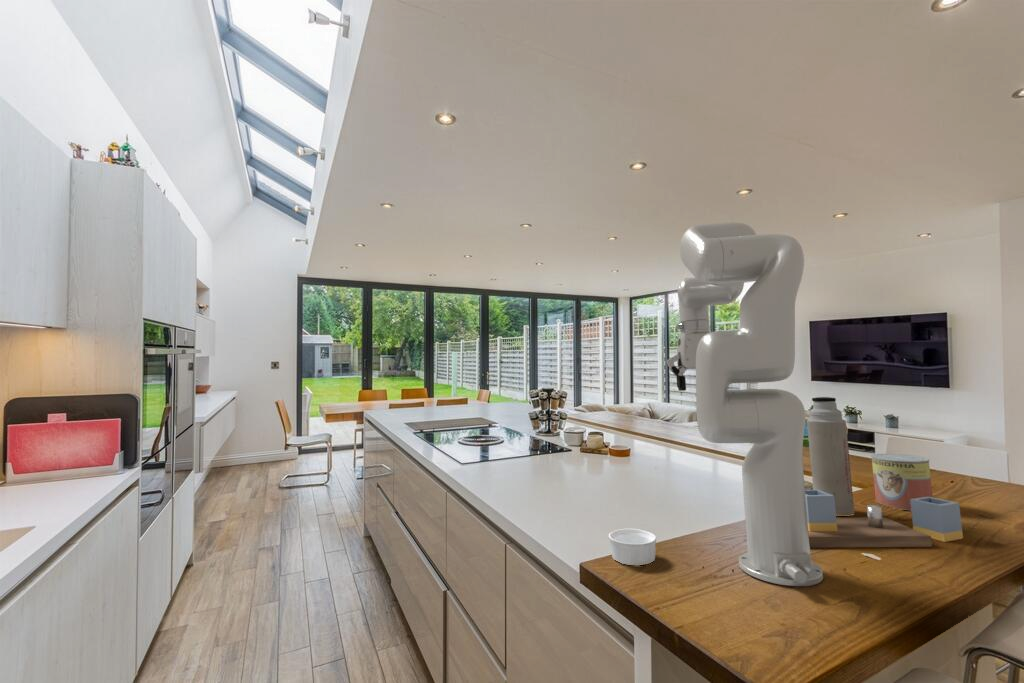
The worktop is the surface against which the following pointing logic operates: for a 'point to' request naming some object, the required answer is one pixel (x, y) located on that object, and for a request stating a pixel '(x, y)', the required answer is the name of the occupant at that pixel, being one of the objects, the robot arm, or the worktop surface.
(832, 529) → the seated sleeve
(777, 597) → the worktop surface
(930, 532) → the slate sleeve
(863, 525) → the pin board
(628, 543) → the ramekin
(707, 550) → the worktop surface
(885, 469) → the canned food
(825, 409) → the thermos bottle
